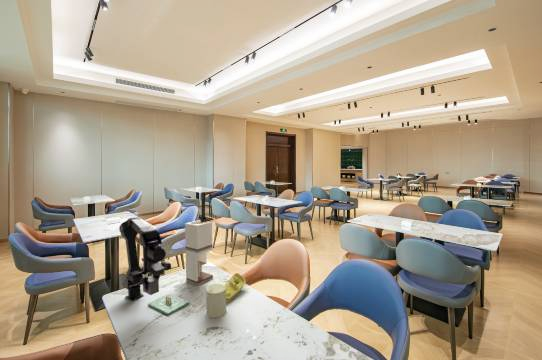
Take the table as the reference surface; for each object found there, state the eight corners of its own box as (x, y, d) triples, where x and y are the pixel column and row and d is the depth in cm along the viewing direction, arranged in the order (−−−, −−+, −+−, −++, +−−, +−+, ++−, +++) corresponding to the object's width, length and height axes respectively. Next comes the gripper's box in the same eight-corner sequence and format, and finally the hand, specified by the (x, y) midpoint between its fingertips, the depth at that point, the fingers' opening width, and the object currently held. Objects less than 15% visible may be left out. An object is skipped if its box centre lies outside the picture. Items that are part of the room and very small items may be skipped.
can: (202, 312, 123) (202, 287, 123) (218, 304, 130) (218, 281, 130) (214, 320, 117) (213, 294, 116) (230, 312, 124) (230, 287, 123)
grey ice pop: (138, 289, 126) (138, 276, 126) (146, 285, 130) (146, 273, 129) (150, 295, 120) (150, 282, 120) (158, 291, 124) (158, 279, 123)
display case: (198, 285, 151) (197, 225, 149) (186, 281, 157) (184, 223, 155) (212, 278, 161) (211, 221, 159) (200, 274, 167) (199, 219, 165)
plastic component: (228, 299, 131) (213, 287, 134) (223, 310, 133) (209, 298, 137) (248, 280, 148) (235, 270, 152) (244, 290, 151) (231, 280, 154)
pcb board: (148, 305, 130) (147, 297, 130) (169, 295, 140) (168, 288, 140) (168, 315, 121) (167, 307, 121) (189, 303, 131) (188, 296, 131)
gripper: (139, 266, 111) (140, 302, 111) (177, 253, 126) (178, 285, 127) (126, 260, 117) (127, 294, 118) (164, 249, 132) (164, 279, 133)
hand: (150, 288), depth 124 cm, fingers closed on grey ice pop, 4 cm apart
